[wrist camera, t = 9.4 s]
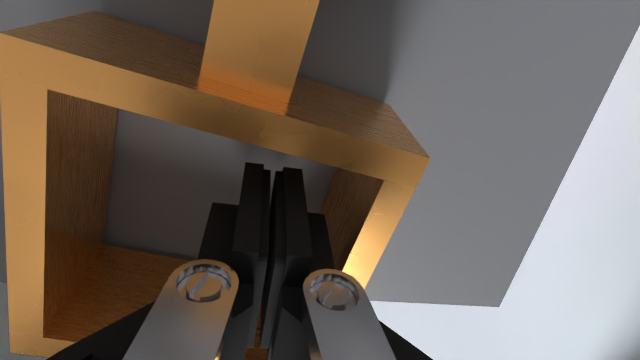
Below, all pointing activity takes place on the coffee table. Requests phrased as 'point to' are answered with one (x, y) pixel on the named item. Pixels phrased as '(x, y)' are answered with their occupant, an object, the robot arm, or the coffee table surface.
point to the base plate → (415, 112)
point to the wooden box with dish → (184, 109)
